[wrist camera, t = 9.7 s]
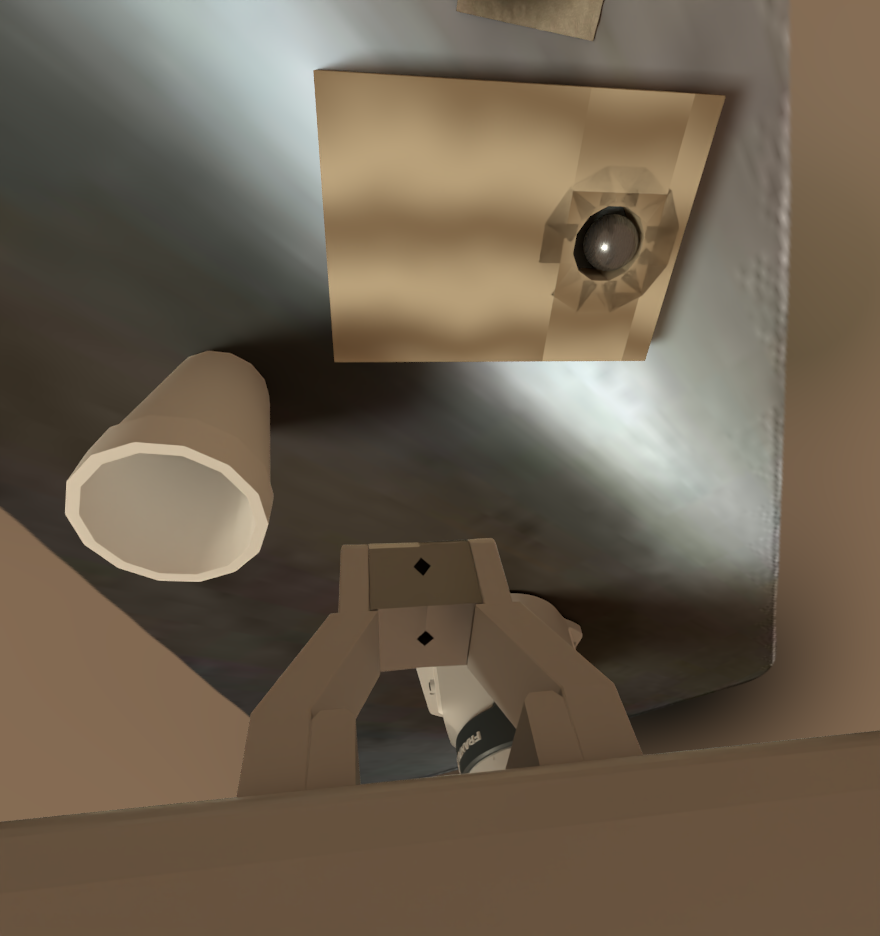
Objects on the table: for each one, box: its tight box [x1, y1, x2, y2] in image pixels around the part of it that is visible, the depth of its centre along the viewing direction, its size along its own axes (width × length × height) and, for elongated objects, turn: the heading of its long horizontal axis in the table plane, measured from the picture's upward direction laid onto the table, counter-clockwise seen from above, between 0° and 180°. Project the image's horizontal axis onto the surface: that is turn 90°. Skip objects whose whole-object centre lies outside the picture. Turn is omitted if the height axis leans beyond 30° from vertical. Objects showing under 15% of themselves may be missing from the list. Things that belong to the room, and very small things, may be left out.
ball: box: [583, 214, 638, 271], centre depth 33 cm, size 3×3×3 cm
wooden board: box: [314, 70, 726, 362], centre depth 32 cm, size 15×21×2 cm
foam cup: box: [65, 351, 274, 582], centre depth 32 cm, size 10×9×13 cm
